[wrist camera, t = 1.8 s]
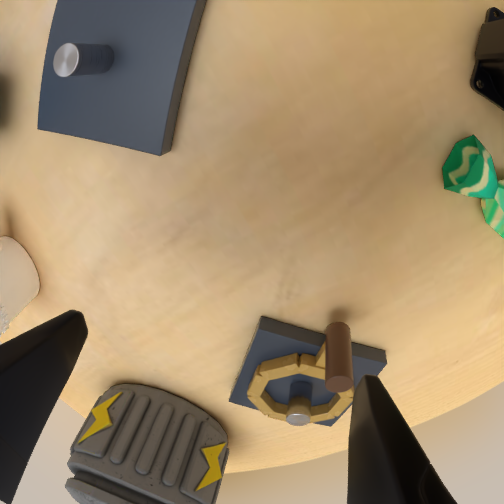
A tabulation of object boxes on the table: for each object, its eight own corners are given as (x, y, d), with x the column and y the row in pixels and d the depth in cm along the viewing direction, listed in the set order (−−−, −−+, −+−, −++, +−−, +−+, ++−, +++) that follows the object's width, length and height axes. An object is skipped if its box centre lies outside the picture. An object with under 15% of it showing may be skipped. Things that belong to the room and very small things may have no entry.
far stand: (331, 415, 30) (329, 455, 26) (231, 390, 30) (220, 430, 26) (385, 350, 24) (392, 397, 20) (261, 315, 25) (249, 363, 20)
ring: (325, 420, 28) (323, 462, 24) (241, 399, 28) (230, 442, 24) (394, 336, 22) (404, 388, 17) (284, 304, 22) (275, 358, 18)
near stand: (170, 151, 19) (131, 172, 15) (49, 125, 20) (3, 141, 15) (210, -12, 14) (178, -37, 9) (73, -9, 14) (26, -17, 10)
